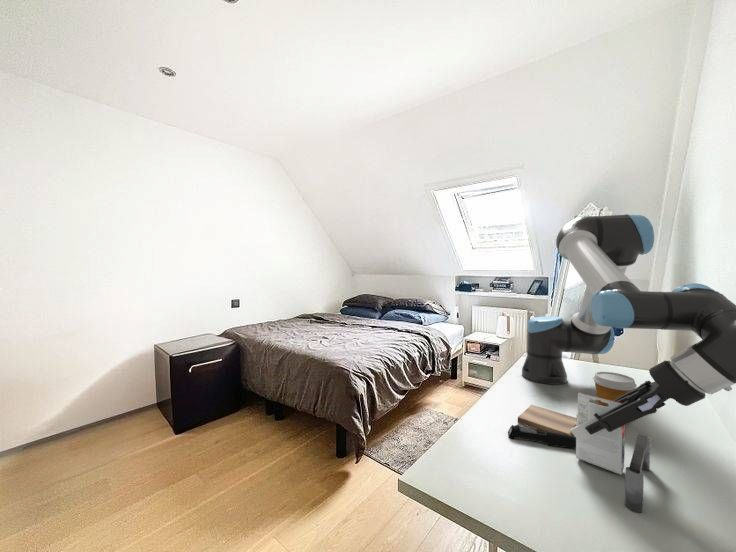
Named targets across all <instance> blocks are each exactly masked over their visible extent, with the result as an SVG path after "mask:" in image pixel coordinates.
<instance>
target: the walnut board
mask: <svg viewBox="0 0 736 552" xmlns="http://www.w3.org/2000/svg"><path fill="white" fill-rule="evenodd" d="M576 418H577V417H575V416H572V415H567V414H565V413H561V412H557V411H555V410H551V409H548V408H544V407H540V406H536V405H533V404H531V405H529V406H528V407H527V408H526V409H525V410H524V411H523V412H521V413H520V415H518V417H517V423H518V424H521V425H524V426H527V427H528V428H529V427H530V428H532V427H533V428H532V429H535V428H536V429H538V430H542V431H549V432H553V433H558V434H564V435H569V436H574V435H573V433H572V432H571V431H570V430H571V429H572V428H574V427H576V424H575V422H577V419H576Z"/></svg>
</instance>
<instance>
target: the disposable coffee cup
mask: <svg viewBox="0 0 736 552" xmlns="http://www.w3.org/2000/svg"><path fill="white" fill-rule="evenodd" d="M592 379H593V381H594V385H595V393H596V397H599V398H604V399H607V400H612V401H613V400H615V399H617V398H618V397H620V396H622V395H624V394H626V393H628V392H629V391H631V390H633V389H635V388H637V387H638V386H637V384H636V381H635V379H634V378H633V377H631V376H628V375H625V374H622V373H618V372H612V371H597V372H595V373H594V376H592ZM596 401H597V403H596V404H599V405H603V406H607V405H606V404H607V403H604V402H601V401H600V400H596Z"/></svg>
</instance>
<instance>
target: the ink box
mask: <svg viewBox="0 0 736 552" xmlns="http://www.w3.org/2000/svg"><path fill="white" fill-rule="evenodd" d="M590 400H592V401H597V400H600V401H601V402H604V403H607V404H609V406H608V407H607V406H603V405H599V404H598V403H594V402H591V401H590ZM621 404H622V403H620V402H616V401H612V400H607V399H604V398H599V397H597V396H595V395H590V394H587V393H583V392H577V413H576V417H575V418H576V419H577V423H576V426H578V425H580V424H582V423H584V422H586V421H588V420H590V419H592V418H594V417H595V416H594V414H595V413H597V414H598V415H599V416H601V415H603V414H604V413H606V412H608V411H610V410H612V409H613V408H615V407H617V406H619V405H621ZM625 435H626V425H624V426H622V427H619V428H617V429H615V430H613V431H612V432H608V431H607V430H605V431H603V432H601V433H599V434H597V435H595V436H593V437H591V438H589V439H587V440H585V441H583V442H581V443H580V442H579V440H578V439H577V438H576V448H575V458H577V459H578V460H581V461H583V462H586V463H589V464H591V465H594V466H596V467H598V468H602V469H604V470H607V471H609V472H612V473H615V474H618V475H623V472H624V469H625V450H626V448H625V446H626V445H625V444H626V443H625V438H626V436H625Z"/></svg>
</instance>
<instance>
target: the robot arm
mask: <svg viewBox="0 0 736 552" xmlns="http://www.w3.org/2000/svg"><path fill="white" fill-rule="evenodd" d="M555 241H556V242H555V245H556V249H557V251H558V254H560V256H561V257H562V258H563V259H564V260H566V261H569V262H570V263H571V265H572V266H573V268H574V270H575V271H576V272H577V274H578V275H579V277H580V278H581V280H582V281H583V282H584V284H585V285H586V286H585V289H584V292H583V296H582V300H581V302H580V306H579V310H578V312H576V313H574V314H573V315H572V316H571V319H570V320H564V319H563V318H562V317H560V316H556V315H554V316H549V315H548V316H547V315H546V316H544V315H543V316H536V317H532V318H530V319H529V320H528V322H527V328H526V332H527V342H526V343H527V345H526V346H527V347H526V348H527V349H526V351H527V352H526V353H527V354H526V357H525V360H524V362H523V365H522V368H521V375H522V376H523V377H524V378H525V377H526V378H525V379H527V380H529V379H530V380H529V381H532V382H535V381H536V382H537V383H539V384H546V385H562V384H566V383H567V382H568V374H567V371H566V368H565V365H564V362H563V353H573V354H575V353H576V354H585V355H586V354H587V355H605V354H608V353H609V352H610V351H611V350H612V348H613V347H614V343H615V339H614V338H616V337H615V331H614V330H615V329H639V330H640V329H641V330H662V331H663V330H664V331H665V330H666V331H683V332H684V331H685V332H688V331H689V332H693V333H694V334H695V335H697V336H698V337H699V338H700V339H701V340H700V341H698V342H696V343H694V344H692V345H689V346H688V347H686V348H685V349H682V350H681V351H679V352H676V353H675V354H674V355H671V357H670V360H664V361H661V362H660V363H657V364H656V365H654V366H652V367H651V368H650V369H649V370H648V371H649V372H648V373H649V374H650V376H651V378H652V380H653V382H651V381H650V380H646V381H644V382H643V383H641V384H640V385H638V386H637V387H635V389H633V390H631V391H629V392H628V393H626V394H624V395H622V396H620V397H618V398H617V399H615V400H613V401H616V402H620V403H622V404H621V405H619V406H617V407H615V408H613V409H612V410H610V411H608V412H606V413H604V414H603V415H601V416H599V415H598V414H597V413H595V414H594V416H595V417H594V418H592V419H590V420H588V421H586V422H584V423H582V424H580V425H578V426H576V427H574V428H572V429H571V430H570V431H571V432H572V433H573V435H572V436H574V437H576V438H577V439H578V440H579V442H580V443H581V442H583V441H585V440H587V439H589V438H591V437H593V436H595V435H597V434H599V433H601V432H603V431H605V430H607V431H608V432H612V431H613V430H615V429H617V428H619V427H622V426H624V425H625V426H626V425H628V424H630V423H633V422H634V421H637V420H639V419H641V418H643V417H646V416H649V415H652V414H656V412H658V409H661V408H662V407H664V406H665V405H666V403H665V402H667V401H668V400H670V399H672V400H674V401H676V403H678V404H680V405H682V406H683V407H684V406H685V407H687V406H691V405H693V404H695V403H697V402H700V401H702V400H704V399H706V394H708V395H714V394H716V393H718V392H721V391H722V390H725V391H726V392H731V391H732V390H733V387H732V386H733V385H735V384H736V304H735V303H734V302H733V301H731V300H729V299H728V298H727V297H726V296H725V294H723V293H720V292H719V291H717V290H715V289H713V288H712V287H710V286H708V285H706V284H703V283H697V282H696V283H695V282H694V283H693V282H691V283H686V284H684V285H680V286H677V287H676V288H674V289H673V290H672V291H647V290H646V291H645V290H640V289H639V288H638V287H637V286H636V284H634V283H633V281H632V280H631V279H630V278H629V277H628V276H627V275H626V274H625V273H626V272H627V271H626V270H627V268H628V267H630V266H632V265H634V264H635V263H636V262H637V259H638V256H639V255H642V256H643V255H647V254H648V253H650V252H651V251H652V249H653V248H654V244H655V232H654V226H653V224H652V222H651V221H650V220H649V218H648V217H646V216H645V215H642V214H628V213H625V214H617V215H616V214H615V215H613V214H612V215H588V216H587V215H584V216H581V217H577V218H574V219H572V220H570V221H569V222H567V223H566V224H565V225H563V227H562V228H561V229H560V230H559V232H558V234H557V236H556V239H555ZM614 328H615V329H614ZM606 405H607V407H608V406H609V404H606ZM576 423H577V422H575V424H576Z"/></svg>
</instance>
